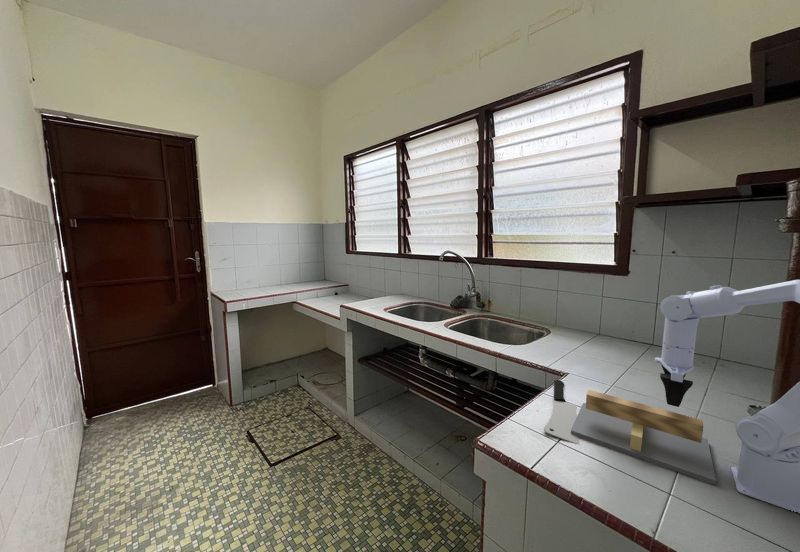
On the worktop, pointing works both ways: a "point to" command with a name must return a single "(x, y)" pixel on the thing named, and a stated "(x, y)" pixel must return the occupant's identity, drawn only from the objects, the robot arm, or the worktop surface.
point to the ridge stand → (646, 444)
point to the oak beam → (646, 415)
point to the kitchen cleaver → (562, 416)
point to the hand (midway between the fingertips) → (672, 398)
